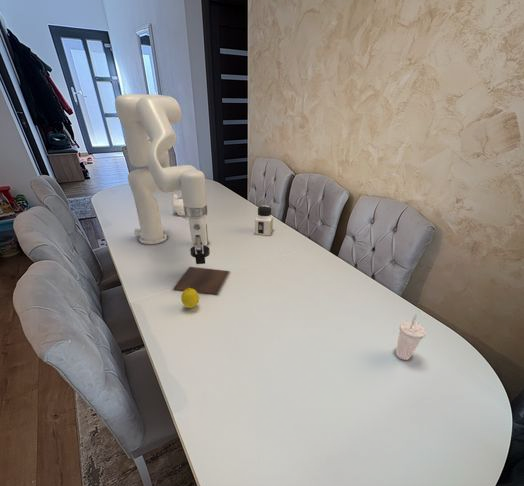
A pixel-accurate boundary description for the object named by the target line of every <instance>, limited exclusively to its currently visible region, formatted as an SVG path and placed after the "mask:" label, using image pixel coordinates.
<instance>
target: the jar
mask: <svg viewBox="0 0 524 486" xmlns="http://www.w3.org/2000/svg"><path fill="white" fill-rule="evenodd" d="M205 222H206V233H207V245H206V246H208V245H209V234H208V233H209V232H208V224H207V221H206V220H205ZM204 246H205V245H204Z"/></svg>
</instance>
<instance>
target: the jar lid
mask: <svg viewBox="0 0 524 486" xmlns="http://www.w3.org/2000/svg"><path fill="white" fill-rule="evenodd" d="M201 249H202V247H201ZM203 250H204V253H205V258H207V257H209V256H210V253H211V249H210V247H209V246H208V245H206V246H204V245H203ZM189 251H190V256H191V257H192V258H195V247H194V246H191V248H190V249H189Z"/></svg>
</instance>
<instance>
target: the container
mask: <svg viewBox="0 0 524 486" xmlns="http://www.w3.org/2000/svg"><path fill="white" fill-rule="evenodd" d="M273 227H274V215H272V208H271V207H270V206H269V205H260V206H258V208H257V216H256V218H255V219H254V235H261V236H271V234H272V232H273V229H274V228H273Z"/></svg>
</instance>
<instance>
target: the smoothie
mask: <svg viewBox="0 0 524 486" xmlns="http://www.w3.org/2000/svg"><path fill="white" fill-rule="evenodd" d="M417 317H418V315H417V314H414V315H413V317H412V320H405V321H402V322H401V323H400V324H399V326H398V330H399V331H398V332H399V333H398V339H397V344H396V350H395V356H397V358H399V359H400V360H403V361H407V360H410V358H411V357H412V355H413V354H414V352H415V351H416V349H417V347H418V345H419V344H420V342H421V340H422V339H424V338H426V333H427V331H426V328H424V326H423V325H421V324H420V323H419V322H417V321H416V320H417Z"/></svg>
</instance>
